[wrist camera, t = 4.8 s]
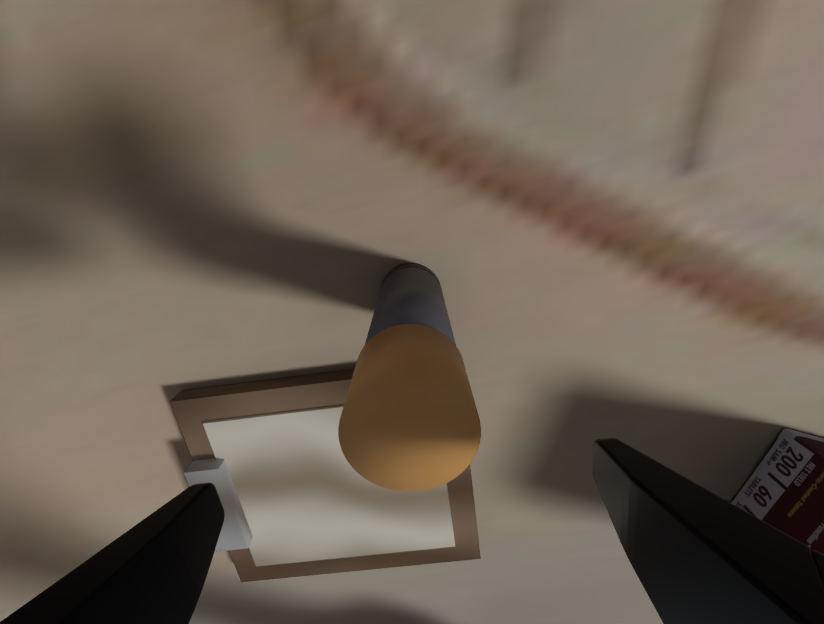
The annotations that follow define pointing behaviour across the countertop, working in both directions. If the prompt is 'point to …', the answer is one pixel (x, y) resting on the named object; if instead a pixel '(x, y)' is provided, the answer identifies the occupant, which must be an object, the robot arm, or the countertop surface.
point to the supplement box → (790, 488)
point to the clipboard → (310, 485)
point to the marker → (409, 391)
